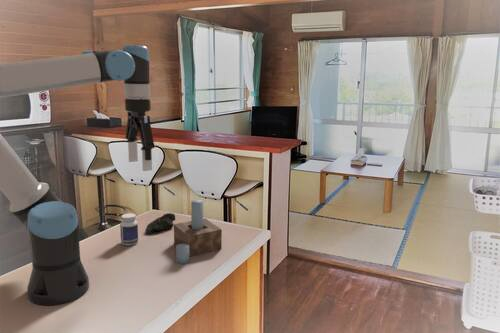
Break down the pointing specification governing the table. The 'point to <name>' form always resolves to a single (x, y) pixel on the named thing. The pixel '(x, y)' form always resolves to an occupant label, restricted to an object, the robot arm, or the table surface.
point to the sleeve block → (198, 237)
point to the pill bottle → (129, 229)
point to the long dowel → (197, 214)
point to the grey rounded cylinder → (182, 253)
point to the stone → (161, 223)
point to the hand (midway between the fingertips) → (140, 165)
